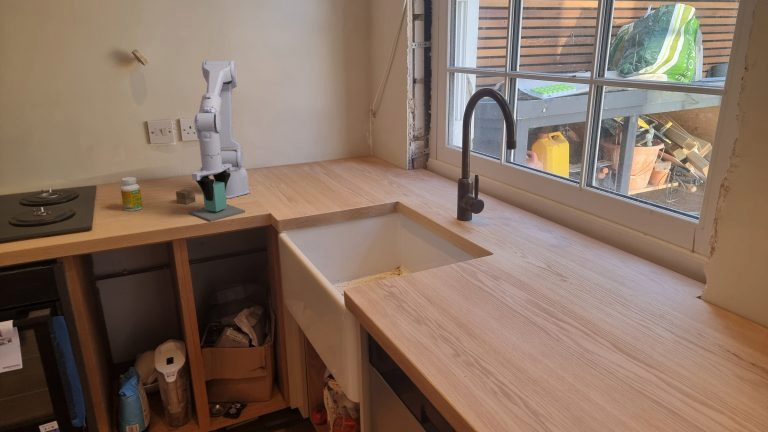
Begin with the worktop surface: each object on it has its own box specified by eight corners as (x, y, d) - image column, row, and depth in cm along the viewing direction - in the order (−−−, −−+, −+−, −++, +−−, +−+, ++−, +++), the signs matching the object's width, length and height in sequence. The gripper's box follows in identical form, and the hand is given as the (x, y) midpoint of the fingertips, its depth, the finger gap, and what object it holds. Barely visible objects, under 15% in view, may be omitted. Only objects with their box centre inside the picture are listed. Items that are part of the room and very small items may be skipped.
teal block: (215, 205, 161) (212, 180, 159) (226, 207, 159) (224, 182, 157) (205, 209, 157) (202, 184, 155) (216, 211, 155) (213, 185, 153)
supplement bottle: (135, 211, 159) (130, 181, 156) (120, 210, 160) (115, 180, 157) (146, 206, 164) (142, 176, 161) (131, 205, 165) (126, 175, 162)
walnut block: (186, 200, 171) (185, 188, 170) (195, 201, 170) (194, 189, 168) (177, 203, 168) (175, 191, 167) (186, 205, 166) (185, 193, 165)
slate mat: (223, 204, 167) (223, 202, 166) (245, 212, 159) (245, 210, 159) (188, 213, 158) (188, 211, 158) (210, 221, 151) (209, 219, 150)
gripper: (218, 148, 161) (222, 190, 165) (181, 157, 148) (187, 202, 153) (235, 150, 158) (239, 193, 162) (200, 159, 145) (205, 205, 150)
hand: (215, 198), depth 157 cm, fingers closed on teal block, 4 cm apart
